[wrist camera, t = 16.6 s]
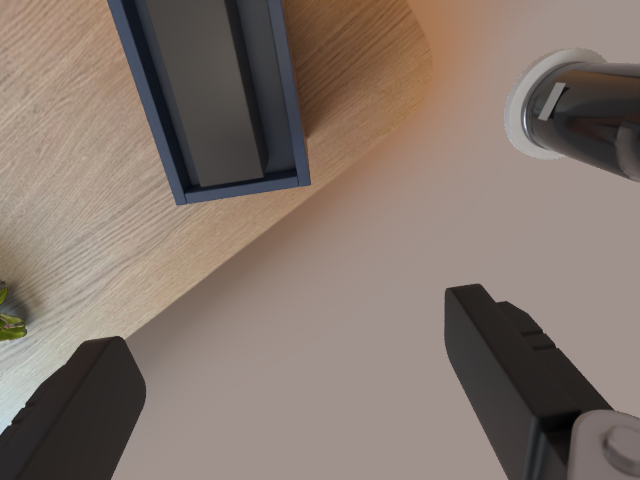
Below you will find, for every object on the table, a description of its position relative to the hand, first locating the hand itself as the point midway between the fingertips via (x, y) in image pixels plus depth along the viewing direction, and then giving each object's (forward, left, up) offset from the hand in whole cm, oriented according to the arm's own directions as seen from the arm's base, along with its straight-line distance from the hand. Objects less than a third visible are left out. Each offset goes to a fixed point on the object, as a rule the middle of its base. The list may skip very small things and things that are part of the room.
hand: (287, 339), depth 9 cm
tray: (+4, -6, -20) cm, 21 cm away
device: (+4, -6, -20) cm, 21 cm away
